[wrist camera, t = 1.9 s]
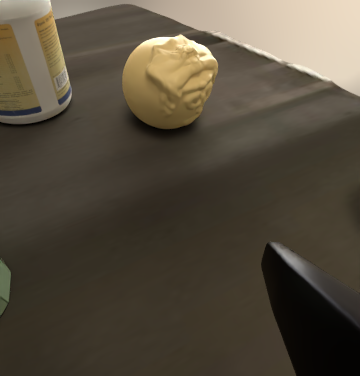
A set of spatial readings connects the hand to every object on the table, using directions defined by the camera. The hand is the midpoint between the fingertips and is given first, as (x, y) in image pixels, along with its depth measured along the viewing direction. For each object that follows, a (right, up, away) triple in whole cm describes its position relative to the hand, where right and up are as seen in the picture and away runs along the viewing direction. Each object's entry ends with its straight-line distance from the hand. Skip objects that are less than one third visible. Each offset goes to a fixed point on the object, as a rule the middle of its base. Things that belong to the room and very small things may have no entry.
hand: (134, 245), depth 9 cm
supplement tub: (-20, +14, +29) cm, 38 cm away
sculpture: (-1, +13, +30) cm, 33 cm away
